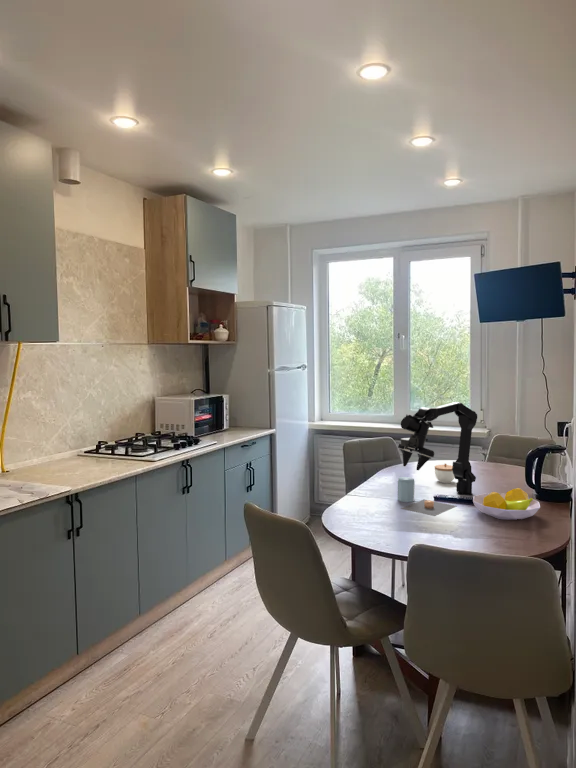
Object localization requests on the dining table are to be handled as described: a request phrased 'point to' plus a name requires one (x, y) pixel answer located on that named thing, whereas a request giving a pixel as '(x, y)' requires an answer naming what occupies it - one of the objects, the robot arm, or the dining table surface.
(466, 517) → the dining table surface
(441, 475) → the lidded jar
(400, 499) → the dome-topped octagonal prism
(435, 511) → the placemat
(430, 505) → the tan rounded pebble
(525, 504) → the fruit bowl
